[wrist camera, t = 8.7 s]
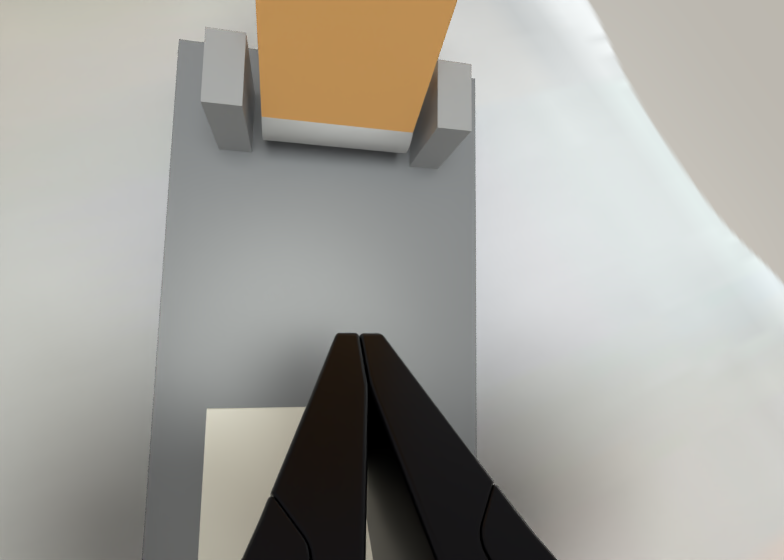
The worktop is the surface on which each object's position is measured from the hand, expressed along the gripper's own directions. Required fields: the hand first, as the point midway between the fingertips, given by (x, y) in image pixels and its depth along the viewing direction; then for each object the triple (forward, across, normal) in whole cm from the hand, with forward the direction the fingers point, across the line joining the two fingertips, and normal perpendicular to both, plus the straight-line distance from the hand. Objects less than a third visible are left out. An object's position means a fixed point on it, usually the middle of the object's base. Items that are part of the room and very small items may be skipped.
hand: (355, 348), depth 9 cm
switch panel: (+6, 0, +6) cm, 9 cm away
